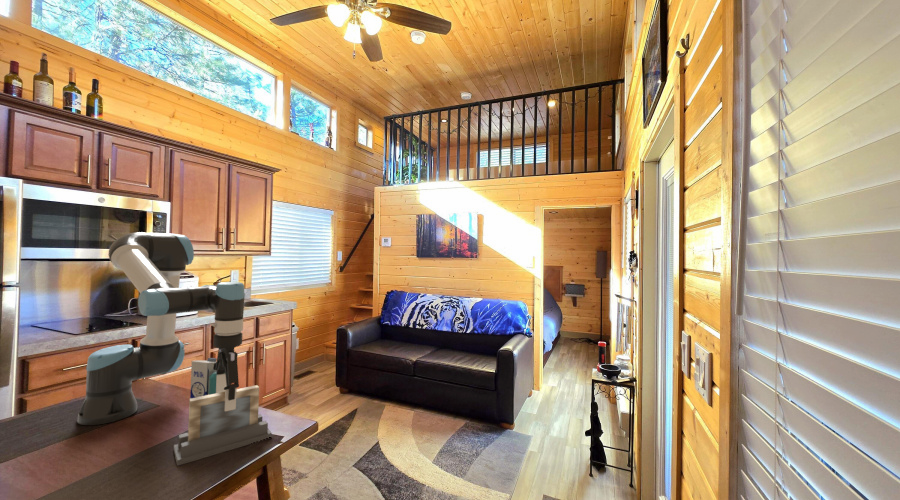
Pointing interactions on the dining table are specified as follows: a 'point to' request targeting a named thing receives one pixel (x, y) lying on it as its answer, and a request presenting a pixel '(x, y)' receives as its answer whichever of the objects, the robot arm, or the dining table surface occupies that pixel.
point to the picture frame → (222, 413)
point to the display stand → (219, 442)
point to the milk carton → (201, 377)
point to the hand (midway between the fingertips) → (225, 401)
